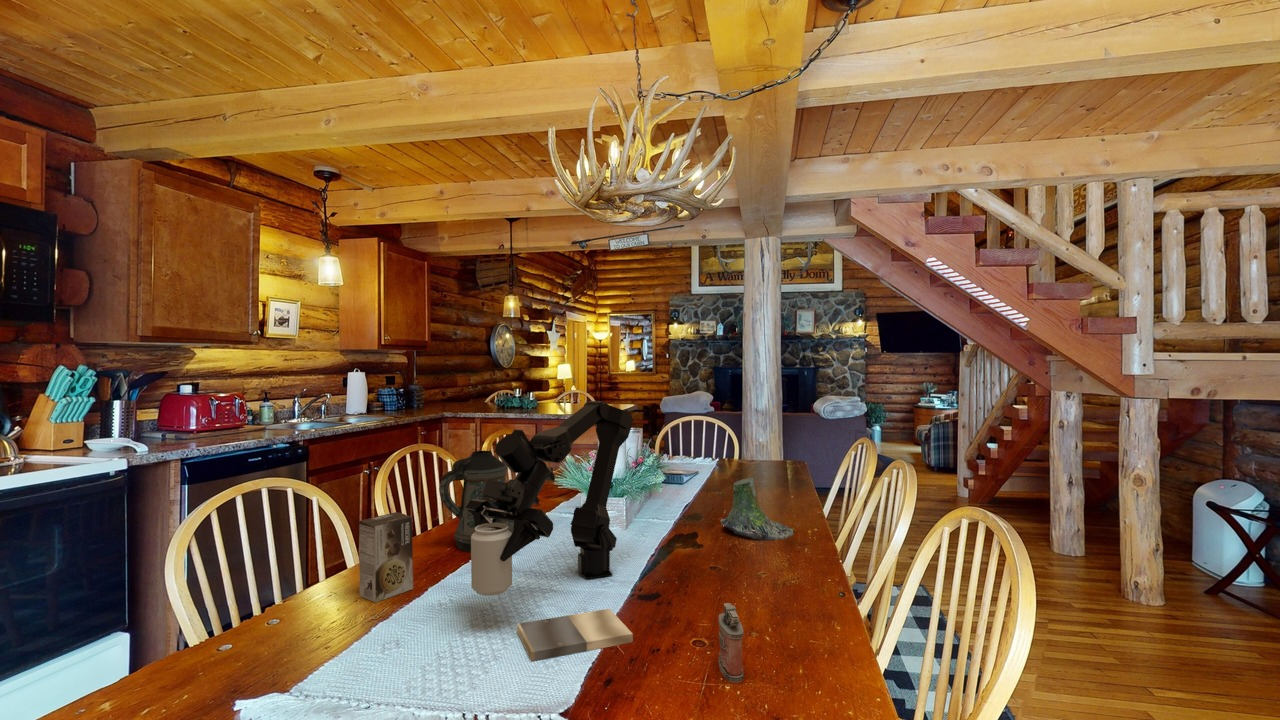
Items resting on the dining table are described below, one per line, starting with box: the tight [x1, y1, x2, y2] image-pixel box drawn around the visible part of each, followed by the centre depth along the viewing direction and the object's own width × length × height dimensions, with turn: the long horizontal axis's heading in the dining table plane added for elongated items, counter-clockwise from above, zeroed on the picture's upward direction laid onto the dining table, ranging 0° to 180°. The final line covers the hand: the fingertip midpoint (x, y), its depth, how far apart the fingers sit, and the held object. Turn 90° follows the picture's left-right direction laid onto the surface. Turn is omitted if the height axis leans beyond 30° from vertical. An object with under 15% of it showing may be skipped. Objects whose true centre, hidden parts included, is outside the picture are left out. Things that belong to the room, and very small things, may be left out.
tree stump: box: [720, 477, 795, 541], centre depth 180 cm, size 18×20×18 cm
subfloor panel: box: [516, 608, 634, 662], centre depth 112 cm, size 18×12×2 cm, turn 113°
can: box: [470, 523, 513, 597], centre depth 117 cm, size 8×8×12 cm
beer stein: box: [438, 450, 514, 553], centre depth 168 cm, size 16×19×25 cm
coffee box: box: [358, 511, 414, 603], centre depth 134 cm, size 9×6×16 cm
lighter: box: [718, 602, 744, 683], centre depth 101 cm, size 8×3×10 cm, turn 5°
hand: (486, 556), depth 116 cm, fingers closed on can, 7 cm apart
